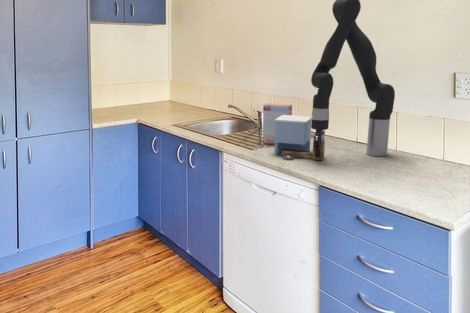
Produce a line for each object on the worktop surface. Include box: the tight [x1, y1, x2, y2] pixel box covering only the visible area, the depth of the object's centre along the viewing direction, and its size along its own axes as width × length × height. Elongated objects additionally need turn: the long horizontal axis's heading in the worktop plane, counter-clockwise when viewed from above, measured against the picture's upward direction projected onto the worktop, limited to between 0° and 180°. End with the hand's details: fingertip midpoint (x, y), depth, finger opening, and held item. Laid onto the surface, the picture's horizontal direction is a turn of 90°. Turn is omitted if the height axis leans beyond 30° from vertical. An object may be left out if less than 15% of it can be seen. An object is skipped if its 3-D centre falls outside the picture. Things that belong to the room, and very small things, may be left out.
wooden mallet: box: [280, 140, 326, 161], centre depth 196 cm, size 19×4×8 cm, turn 69°
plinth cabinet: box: [274, 114, 312, 156], centre depth 206 cm, size 15×15×17 cm
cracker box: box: [262, 102, 293, 146], centre depth 223 cm, size 14×6×21 cm, turn 59°
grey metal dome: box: [282, 154, 295, 161], centre depth 197 cm, size 5×5×2 cm
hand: (318, 155), depth 195 cm, fingers closed on wooden mallet, 4 cm apart
